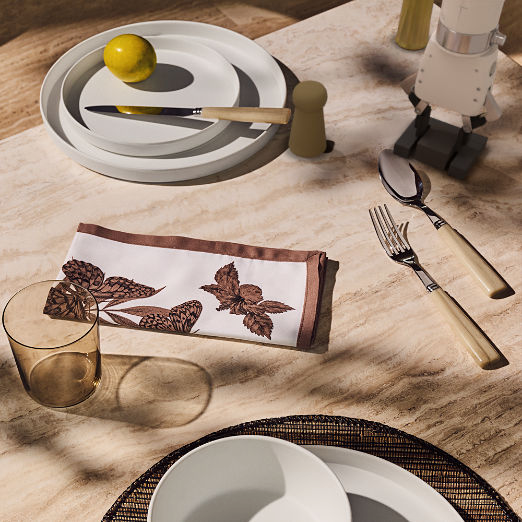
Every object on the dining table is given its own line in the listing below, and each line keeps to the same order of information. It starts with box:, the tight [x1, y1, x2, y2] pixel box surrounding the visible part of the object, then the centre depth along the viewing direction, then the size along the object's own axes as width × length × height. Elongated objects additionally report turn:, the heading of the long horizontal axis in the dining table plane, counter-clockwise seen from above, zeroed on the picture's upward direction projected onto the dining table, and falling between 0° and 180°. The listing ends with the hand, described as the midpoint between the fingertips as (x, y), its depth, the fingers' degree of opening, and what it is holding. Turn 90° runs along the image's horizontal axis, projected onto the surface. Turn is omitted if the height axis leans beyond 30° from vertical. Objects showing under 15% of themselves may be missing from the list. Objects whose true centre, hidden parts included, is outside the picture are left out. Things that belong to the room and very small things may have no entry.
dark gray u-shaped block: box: [392, 116, 489, 181], centre depth 106 cm, size 12×9×2 cm
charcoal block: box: [413, 123, 459, 172], centre depth 105 cm, size 5×6×4 cm
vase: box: [394, 0, 435, 51], centre depth 121 cm, size 6×6×14 cm
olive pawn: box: [288, 79, 328, 158], centre depth 104 cm, size 6×6×11 cm
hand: (440, 138), depth 104 cm, fingers open, 5 cm apart
